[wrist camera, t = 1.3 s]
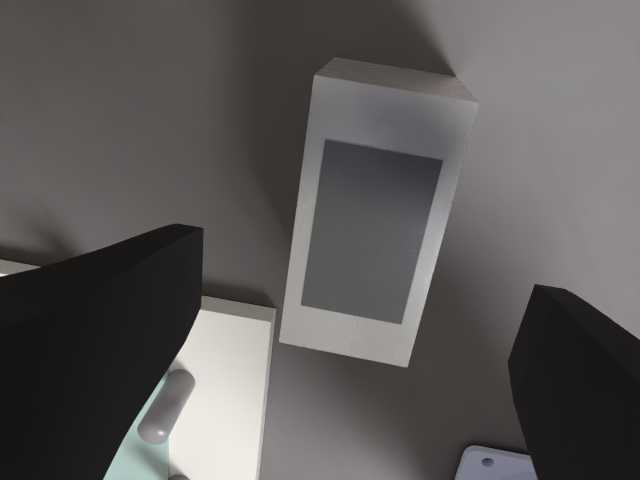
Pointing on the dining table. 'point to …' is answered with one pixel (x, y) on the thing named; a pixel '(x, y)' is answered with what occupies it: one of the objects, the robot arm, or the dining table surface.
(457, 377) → the dining table surface
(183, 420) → the dock
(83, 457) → the robot arm
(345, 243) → the block
